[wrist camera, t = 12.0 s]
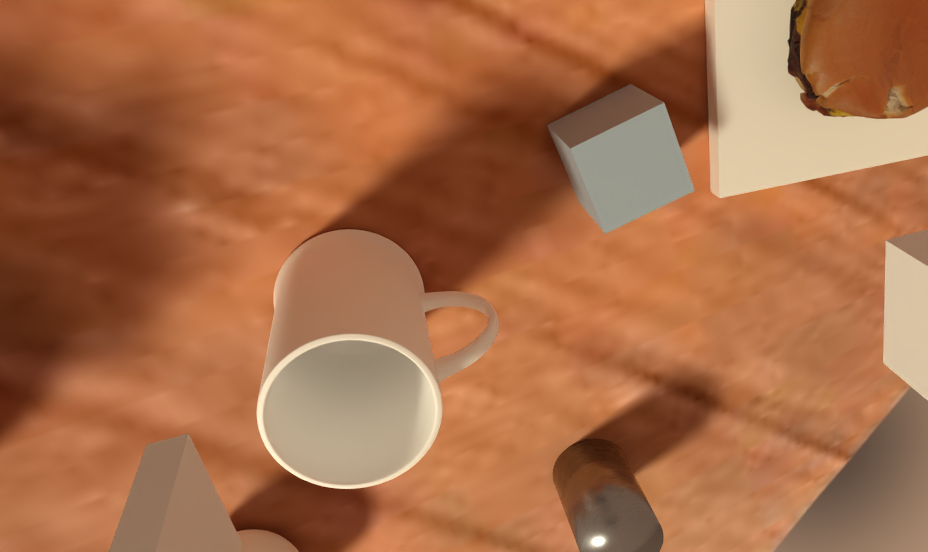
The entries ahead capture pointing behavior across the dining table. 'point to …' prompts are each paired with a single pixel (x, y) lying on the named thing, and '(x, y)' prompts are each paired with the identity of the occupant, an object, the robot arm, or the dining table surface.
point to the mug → (356, 361)
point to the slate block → (621, 156)
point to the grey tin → (605, 500)
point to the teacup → (264, 541)
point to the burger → (860, 56)
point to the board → (782, 109)
